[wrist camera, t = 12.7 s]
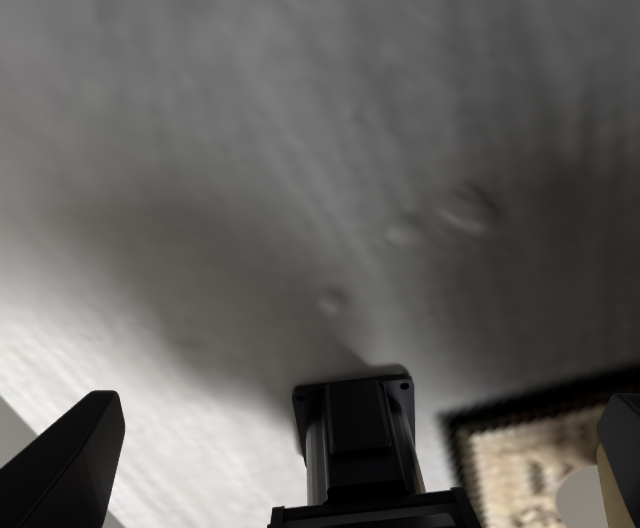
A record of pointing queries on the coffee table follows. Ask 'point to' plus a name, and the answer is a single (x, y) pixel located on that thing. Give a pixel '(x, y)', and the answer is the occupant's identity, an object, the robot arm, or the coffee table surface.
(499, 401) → the coffee table surface
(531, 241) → the coffee table surface
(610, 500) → the plant pot
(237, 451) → the coffee table surface
